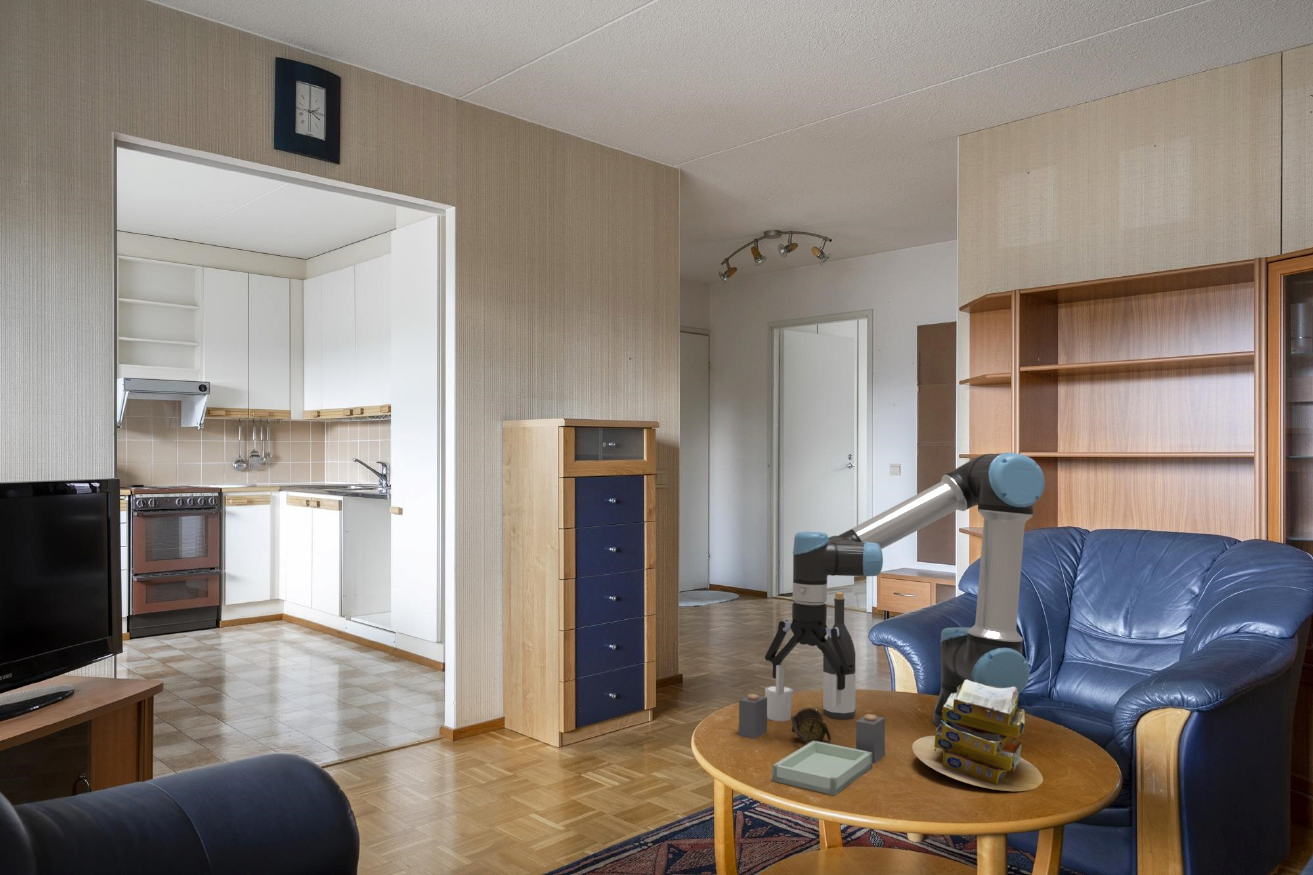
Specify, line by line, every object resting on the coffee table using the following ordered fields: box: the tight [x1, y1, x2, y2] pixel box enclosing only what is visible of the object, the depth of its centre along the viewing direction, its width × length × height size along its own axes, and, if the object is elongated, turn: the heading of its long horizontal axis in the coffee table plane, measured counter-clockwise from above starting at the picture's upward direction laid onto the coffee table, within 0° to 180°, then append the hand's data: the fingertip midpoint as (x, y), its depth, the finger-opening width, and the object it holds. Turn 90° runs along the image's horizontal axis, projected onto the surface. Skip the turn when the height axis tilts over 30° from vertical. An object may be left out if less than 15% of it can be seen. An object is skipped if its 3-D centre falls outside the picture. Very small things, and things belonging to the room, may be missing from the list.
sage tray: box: [771, 741, 873, 796], centre depth 175 cm, size 13×19×3 cm
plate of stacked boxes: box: [911, 680, 1044, 792], centre depth 178 cm, size 25×25×17 cm
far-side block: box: [738, 693, 768, 739], centre depth 201 cm, size 4×6×9 cm, turn 145°
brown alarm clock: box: [790, 707, 832, 746], centre depth 193 cm, size 7×13×10 cm
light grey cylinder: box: [764, 685, 794, 722], centre depth 214 cm, size 7×7×7 cm
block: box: [855, 713, 886, 765], centre depth 185 cm, size 4×6×9 cm, turn 145°
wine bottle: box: [822, 591, 856, 720], centre depth 217 cm, size 8×8×30 cm
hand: (807, 699), depth 193 cm, fingers open, 13 cm apart
